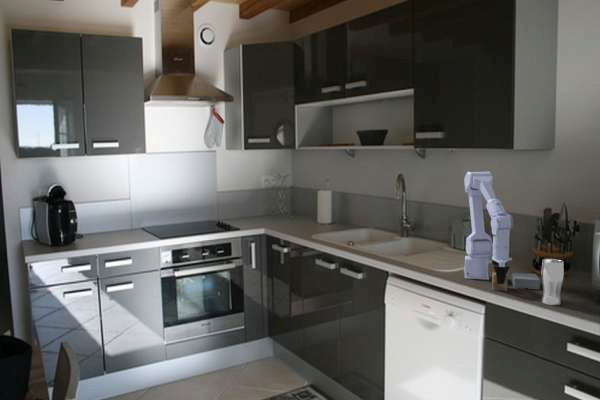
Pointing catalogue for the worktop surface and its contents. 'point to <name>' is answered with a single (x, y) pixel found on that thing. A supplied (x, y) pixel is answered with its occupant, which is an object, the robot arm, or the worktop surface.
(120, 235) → the worktop surface
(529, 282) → the slate block
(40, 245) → the worktop surface
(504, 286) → the walnut block
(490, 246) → the robot arm
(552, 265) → the beer glass
